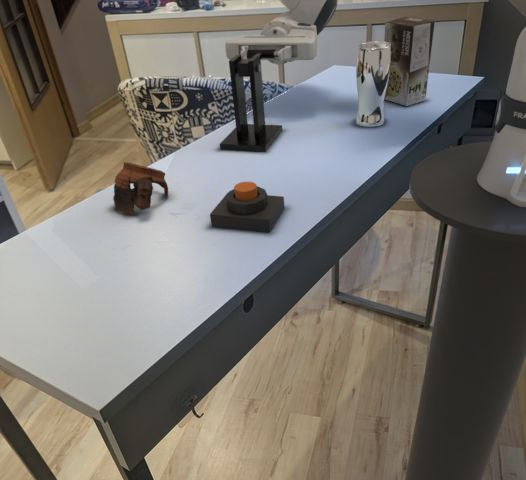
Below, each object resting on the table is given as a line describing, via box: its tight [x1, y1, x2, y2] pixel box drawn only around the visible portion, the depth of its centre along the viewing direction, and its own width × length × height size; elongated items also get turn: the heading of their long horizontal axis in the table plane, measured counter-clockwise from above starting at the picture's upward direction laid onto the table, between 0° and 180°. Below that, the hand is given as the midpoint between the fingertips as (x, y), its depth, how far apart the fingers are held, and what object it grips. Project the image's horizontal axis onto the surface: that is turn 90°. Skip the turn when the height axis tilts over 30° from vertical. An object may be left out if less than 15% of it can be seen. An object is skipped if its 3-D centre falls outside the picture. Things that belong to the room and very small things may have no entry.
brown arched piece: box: [112, 161, 169, 216], centre depth 90 cm, size 12×10×8 cm
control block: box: [209, 185, 285, 233], centre depth 84 cm, size 10×8×4 cm
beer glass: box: [355, 40, 391, 128], centre depth 109 cm, size 7×7×15 cm
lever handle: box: [237, 49, 276, 78], centre depth 105 cm, size 12×6×2 cm, turn 162°
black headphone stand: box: [219, 55, 283, 153], centre depth 106 cm, size 12×10×16 cm
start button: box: [233, 181, 258, 201], centre depth 83 cm, size 4×4×2 cm
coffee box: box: [383, 16, 436, 107], centre depth 118 cm, size 9×6×16 cm
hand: (260, 56), depth 108 cm, fingers closed on lever handle, 6 cm apart
